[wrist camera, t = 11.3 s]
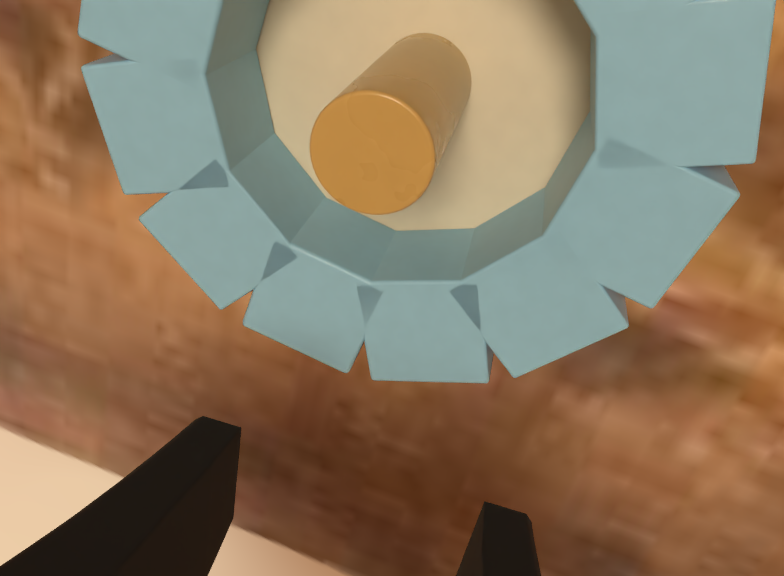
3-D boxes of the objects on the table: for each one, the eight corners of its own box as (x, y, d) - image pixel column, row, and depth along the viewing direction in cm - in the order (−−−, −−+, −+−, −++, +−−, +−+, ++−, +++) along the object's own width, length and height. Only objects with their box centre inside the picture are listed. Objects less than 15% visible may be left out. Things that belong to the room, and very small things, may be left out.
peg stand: (737, -47, 13) (845, -7, 8) (519, 300, 18) (501, 462, 13) (315, -253, 13) (156, -343, 8) (209, 155, 18) (68, 260, 13)
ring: (893, -102, 11) (972, -100, 9) (537, 393, 18) (533, 463, 16) (225, -432, 11) (142, -511, 9) (113, 193, 18) (49, 236, 15)
